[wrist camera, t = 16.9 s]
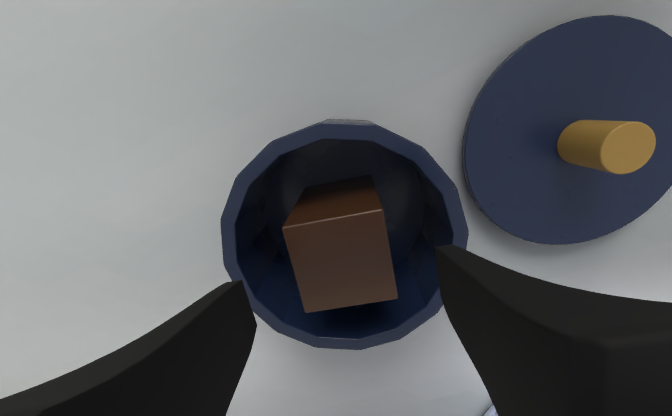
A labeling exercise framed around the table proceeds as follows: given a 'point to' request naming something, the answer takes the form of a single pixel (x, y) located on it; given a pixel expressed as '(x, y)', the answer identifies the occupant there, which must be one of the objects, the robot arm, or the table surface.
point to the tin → (400, 217)
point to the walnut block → (340, 246)
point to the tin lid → (574, 131)
